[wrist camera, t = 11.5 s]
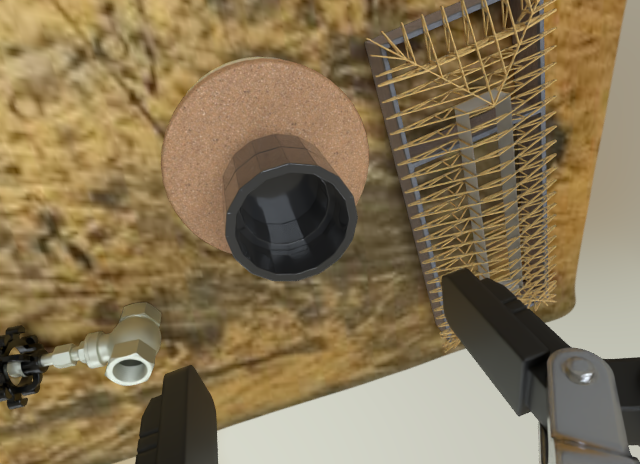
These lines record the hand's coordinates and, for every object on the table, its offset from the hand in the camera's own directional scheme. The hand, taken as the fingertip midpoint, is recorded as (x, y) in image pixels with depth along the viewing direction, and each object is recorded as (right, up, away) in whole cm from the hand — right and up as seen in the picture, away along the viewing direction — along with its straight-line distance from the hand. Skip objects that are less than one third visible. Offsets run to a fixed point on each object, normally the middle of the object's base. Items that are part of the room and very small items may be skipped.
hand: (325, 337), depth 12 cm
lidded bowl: (-5, +11, +20) cm, 23 cm away
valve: (-21, -5, +25) cm, 33 cm away
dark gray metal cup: (-3, +6, +10) cm, 12 cm away
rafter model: (+14, +8, +27) cm, 32 cm away
